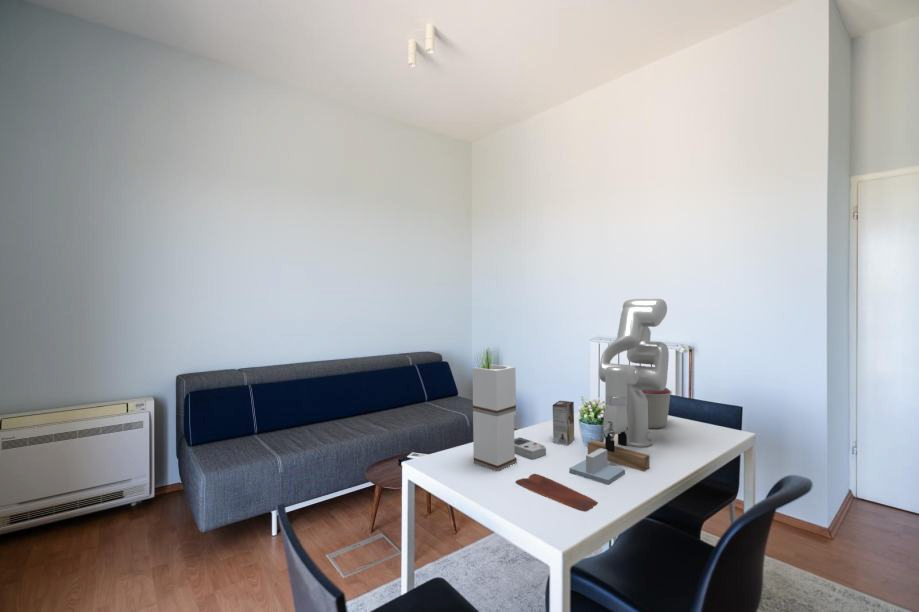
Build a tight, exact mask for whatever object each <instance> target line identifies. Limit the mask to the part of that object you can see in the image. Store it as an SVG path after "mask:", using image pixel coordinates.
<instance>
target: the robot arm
mask: <svg viewBox="0 0 919 612" xmlns="http://www.w3.org/2000/svg"><path fill="white" fill-rule="evenodd" d="M667 312H668V304H667V302H666V301H665V300H664V299H662V298H634V299H633V298H632V299H627V300H626V301H624V302H623V304H622V311H621V313H620V319H619V324H618V329H617V331H618V332H617V337H616V339H615V340H613V341H612V342H611V343H610V344H608V346H607V347H606V348H605V349H604V351H603V352H602V355H601V358H600V362H599V366H598V368H599V369H598V377H599V379H600V381H601V382H603V383H605V385H604V386H605V393H604V394H605V398H604V399H605V400H604V402H605V406H604V407H605V408H604V412H603V427H602V428H603V429H602V430H603V437H604V440H605V441H604V443H605V449H606V450H607V451H610V452H614V451H615V446H616V445H615V443H616V442H615V441H616V440H614V439H615V437H616V435H617V446H620V447H621V446H622V447H627V446H630V447H637V448H645V447H650V446H652V444H653V440H652V439H651V438H649V433H650V432H651V429H650V428H648V401H647V398H646V396H645V394H644V393H643V392H642V390H651V391H663V390H664V389H665V388H667V382H668V374H669V373H668V370H669V359H670V357H669V356H670V354H669V353H670V352H669V348H668V345H667V344H666V343H664V342H662V341H652V340H651V335H652V332H651V329H650V327H651V328H655V327H658V326H659V325H660V324H661V323H662V322H663V321H664V319H665V317H666V315H667ZM624 352H626V358H627V360H628V361H629V362H630V363H633V365H632V364H621V363H611V361H612V359H614V357H615V356H617V355H618V354H621V353H624ZM635 364H639V365H635ZM640 364H641V365H640ZM646 365H653V366H646Z"/></svg>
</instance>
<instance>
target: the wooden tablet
mask: <svg viewBox="0 0 919 612" xmlns="http://www.w3.org/2000/svg"><path fill="white" fill-rule="evenodd" d="M528 478H529V479H528ZM528 478H526V477H525V478H520V479H517V480H516V481H515V483H516V484H517V485H520V486H521V487H523V488H525V489H527V490H528V491H531V492H534V493H535V494H537V495H541V496H543V497H545V498H547V497H548V499H550V500H553V501H555V502H557V503H560V504H562V505H564V506H566V507H567V506H568V507H570V508H572V509H575V510H578V511H582V512H588V511H590V510H592V509H593V508H594V507H597V505H598V504H599V502H598V501H596V500H595V499H593V498H592V497H590V496H588V495H585V494H582V493H581V492H580V491H577V490H574V489H573V488H570V487H568V486H565V485H564V484H562V483H559V482H558V481H555V480H554V479H550V478H548V477H546V476H543V475H541V474H538V473H531V474H530V475H529V476H528Z"/></svg>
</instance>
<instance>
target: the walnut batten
mask: <svg viewBox="0 0 919 612" xmlns="http://www.w3.org/2000/svg"><path fill="white" fill-rule="evenodd" d="M600 448H602V449H605V442H601V441H598V440H596V439H595V440H594V439H593V440H590V441H588V442H587V455H588V454H590V453H592V452H594V451H596V450H598V449H600ZM607 462H611V463H613V464H617V465H621V466H623V467H626V468H627V467H628V468H629V469H630V468H631V469H634V470H638V471H640V472H646V471H648V470H649V469H650V454H647V453H643V452H639V451H636V450H632V449H628V448H624V447H621V446H618V445H617V446H616V445H615V451H614V452H610V451H607Z"/></svg>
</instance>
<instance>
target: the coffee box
mask: <svg viewBox="0 0 919 612" xmlns="http://www.w3.org/2000/svg"><path fill="white" fill-rule="evenodd" d="M574 403H575V402H574V401H568V400H558V401H557V402H555V403H554V404H552V435H553V436H552V437H553V438H552V439H553V440H552V442H553V444H556V443H557V445H563V446H569V445H570V444H571V443H572V442H573V441H574V440H575V405H574Z"/></svg>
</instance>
